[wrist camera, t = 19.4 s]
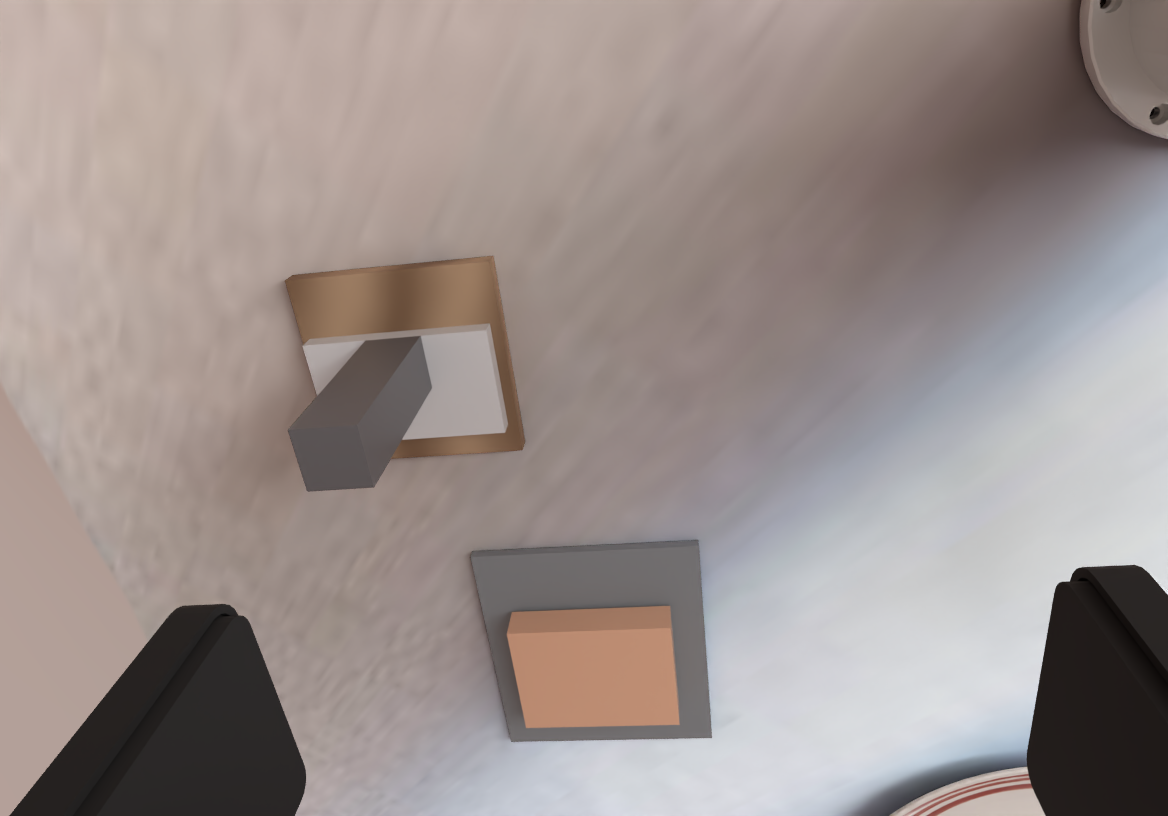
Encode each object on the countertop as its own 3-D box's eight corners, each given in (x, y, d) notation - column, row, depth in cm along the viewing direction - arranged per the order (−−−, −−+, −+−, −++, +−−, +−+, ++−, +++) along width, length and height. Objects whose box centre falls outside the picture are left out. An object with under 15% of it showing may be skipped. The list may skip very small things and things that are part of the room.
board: (493, 255, 42) (489, 261, 41) (525, 441, 47) (522, 450, 46) (292, 275, 43) (285, 280, 42) (343, 453, 48) (337, 462, 47)
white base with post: (309, 338, 44) (209, 435, 34) (489, 323, 42) (439, 419, 33) (337, 436, 46) (251, 552, 36) (508, 424, 45) (466, 541, 35)
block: (670, 628, 48) (679, 724, 52) (670, 602, 50) (678, 697, 54) (506, 633, 49) (526, 728, 53) (512, 608, 51) (531, 701, 55)
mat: (698, 540, 49) (698, 545, 48) (711, 730, 56) (711, 737, 55) (472, 551, 50) (470, 557, 50) (512, 734, 57) (511, 741, 57)
